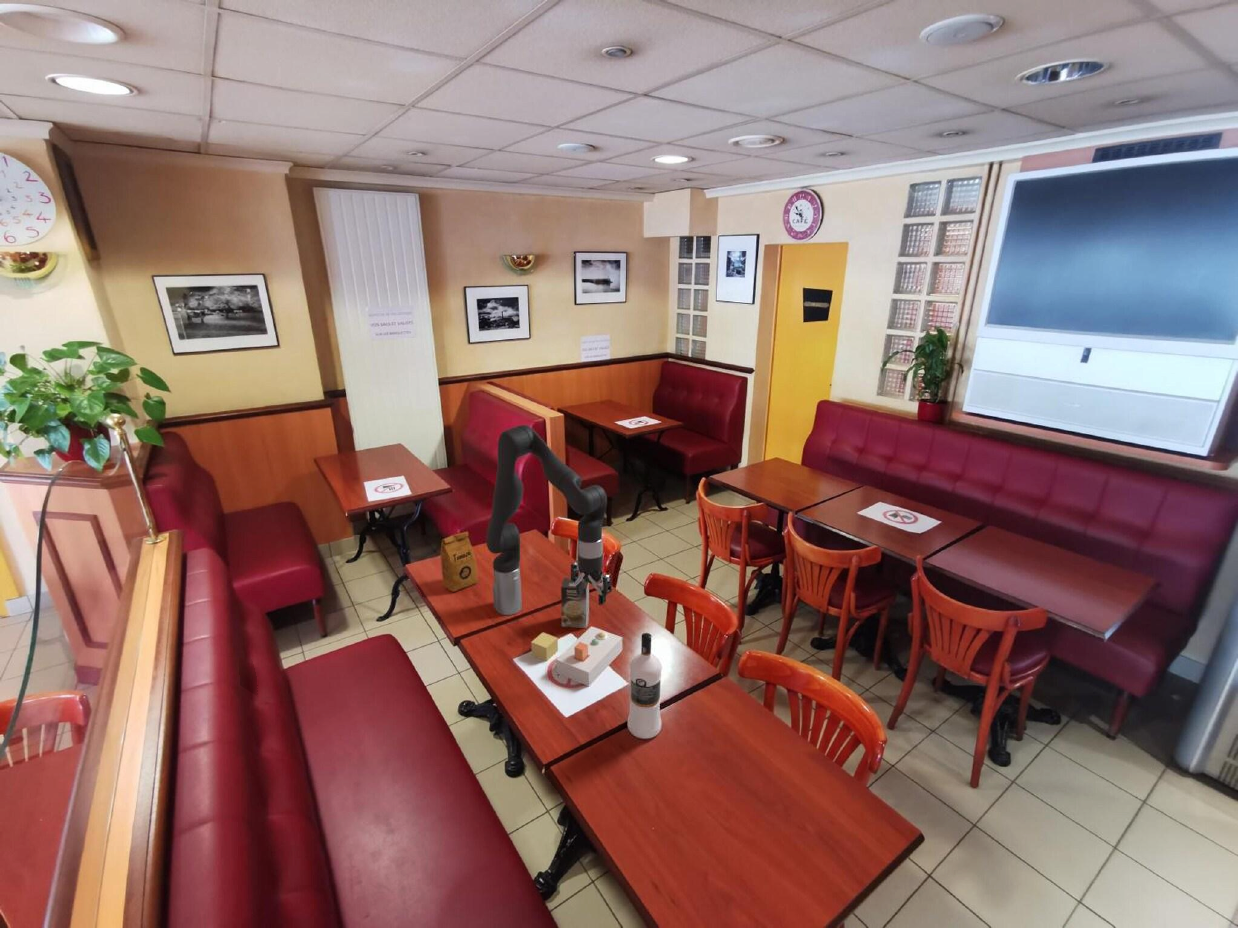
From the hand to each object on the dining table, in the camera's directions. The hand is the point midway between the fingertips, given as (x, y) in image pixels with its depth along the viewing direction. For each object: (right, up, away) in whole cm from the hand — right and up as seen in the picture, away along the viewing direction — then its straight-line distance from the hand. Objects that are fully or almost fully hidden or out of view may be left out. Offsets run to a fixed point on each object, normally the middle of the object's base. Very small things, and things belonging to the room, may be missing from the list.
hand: (591, 599), depth 178 cm
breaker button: (-3, -20, +3) cm, 20 cm away
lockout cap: (-16, -20, +13) cm, 29 cm away
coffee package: (-54, -7, +52) cm, 75 cm away
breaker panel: (-1, -22, +9) cm, 24 cm away
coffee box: (-7, -15, +29) cm, 33 cm away
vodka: (+15, -31, -18) cm, 39 cm away
